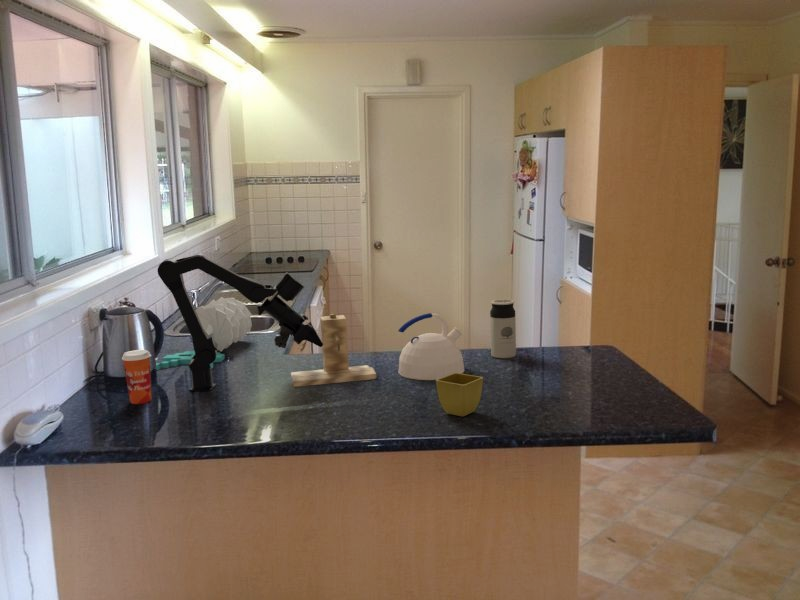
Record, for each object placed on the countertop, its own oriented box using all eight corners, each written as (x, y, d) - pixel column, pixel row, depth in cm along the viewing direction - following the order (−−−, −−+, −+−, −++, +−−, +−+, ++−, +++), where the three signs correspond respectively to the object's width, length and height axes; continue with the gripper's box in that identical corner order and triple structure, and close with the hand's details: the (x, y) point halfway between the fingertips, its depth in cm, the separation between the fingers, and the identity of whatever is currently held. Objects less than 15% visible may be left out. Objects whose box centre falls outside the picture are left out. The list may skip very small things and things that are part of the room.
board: (294, 389, 212) (293, 381, 211) (290, 375, 227) (290, 367, 227) (376, 381, 216) (376, 373, 216) (368, 368, 232) (367, 360, 231)
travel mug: (490, 353, 244) (489, 299, 241) (514, 352, 243) (513, 298, 240) (492, 359, 236) (491, 303, 233) (517, 358, 236) (516, 303, 233)
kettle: (477, 374, 220) (475, 315, 217) (413, 384, 213) (410, 323, 209) (448, 359, 239) (446, 304, 235) (388, 368, 231) (385, 311, 228)
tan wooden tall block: (329, 384, 212) (325, 323, 209) (323, 371, 227) (320, 313, 224) (353, 382, 213) (349, 321, 210) (346, 368, 228) (343, 311, 225)
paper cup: (125, 406, 203) (119, 357, 200) (127, 398, 210) (122, 350, 208) (155, 403, 205) (150, 354, 202) (156, 395, 212) (151, 348, 210)
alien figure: (211, 370, 239) (231, 355, 258) (210, 364, 238) (230, 349, 258) (151, 371, 241) (176, 356, 261) (151, 365, 241) (175, 350, 260)
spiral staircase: (246, 349, 282) (221, 363, 257) (204, 330, 283) (176, 342, 259) (263, 306, 279) (239, 316, 254) (221, 287, 280) (194, 294, 255)
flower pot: (456, 405, 192) (455, 371, 190) (484, 411, 186) (483, 376, 185) (436, 414, 185) (434, 380, 184) (464, 421, 180) (463, 385, 178)
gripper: (263, 327, 227) (302, 358, 231) (265, 340, 209) (306, 373, 213) (287, 299, 227) (325, 331, 231) (290, 310, 209) (332, 344, 213)
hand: (322, 345), depth 222 cm, fingers closed, pressing on tan wooden tall block
